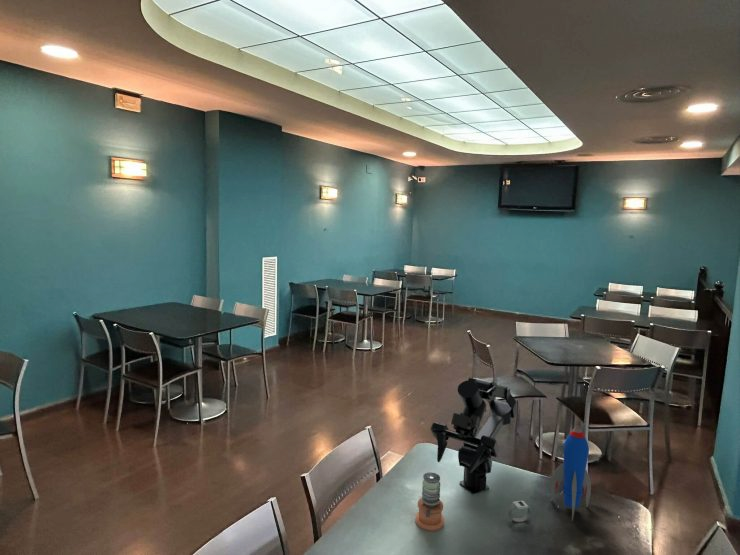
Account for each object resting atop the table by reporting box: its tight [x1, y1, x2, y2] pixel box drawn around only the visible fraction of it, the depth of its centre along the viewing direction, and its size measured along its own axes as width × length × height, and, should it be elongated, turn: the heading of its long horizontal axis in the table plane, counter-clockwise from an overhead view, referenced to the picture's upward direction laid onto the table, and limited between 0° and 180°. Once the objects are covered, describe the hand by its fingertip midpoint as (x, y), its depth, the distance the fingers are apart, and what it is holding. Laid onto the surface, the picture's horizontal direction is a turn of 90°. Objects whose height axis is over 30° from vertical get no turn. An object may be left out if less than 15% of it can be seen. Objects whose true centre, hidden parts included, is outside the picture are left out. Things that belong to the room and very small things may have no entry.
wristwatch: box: [507, 500, 532, 523], centre depth 122 cm, size 6×3×5 cm, turn 101°
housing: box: [415, 497, 445, 532], centre depth 121 cm, size 8×8×5 cm
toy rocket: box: [549, 424, 592, 522], centre depth 125 cm, size 11×10×25 cm
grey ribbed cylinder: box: [421, 472, 441, 508], centre depth 120 cm, size 5×5×8 cm
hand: (453, 466), depth 123 cm, fingers open, 9 cm apart
